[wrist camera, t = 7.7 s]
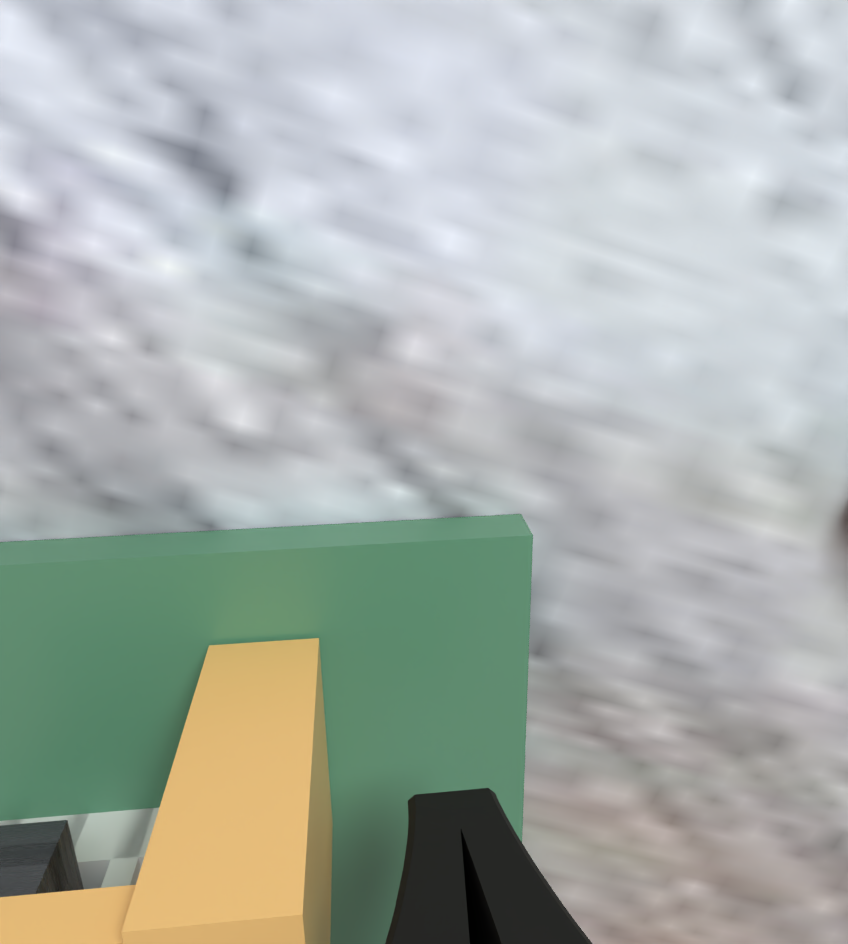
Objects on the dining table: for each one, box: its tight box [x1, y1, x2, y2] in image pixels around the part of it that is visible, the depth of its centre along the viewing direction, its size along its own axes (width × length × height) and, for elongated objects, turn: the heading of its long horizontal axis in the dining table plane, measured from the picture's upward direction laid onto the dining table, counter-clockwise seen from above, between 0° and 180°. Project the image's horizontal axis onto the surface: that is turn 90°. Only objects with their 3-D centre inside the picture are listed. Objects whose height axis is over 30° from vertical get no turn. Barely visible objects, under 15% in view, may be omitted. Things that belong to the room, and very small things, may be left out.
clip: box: [0, 638, 333, 944], centre depth 12 cm, size 4×5×6 cm
